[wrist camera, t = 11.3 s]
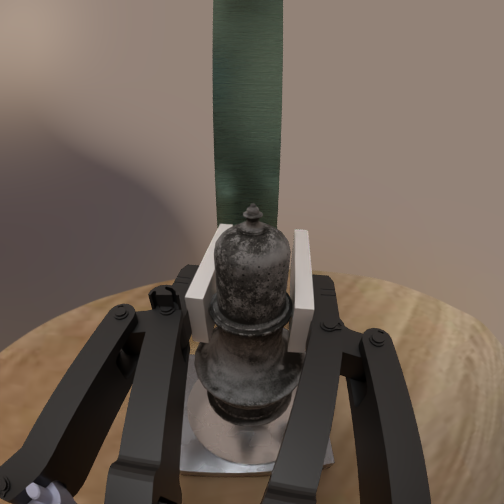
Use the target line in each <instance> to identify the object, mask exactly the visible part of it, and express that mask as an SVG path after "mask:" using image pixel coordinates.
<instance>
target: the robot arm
mask: <svg viewBox="0 0 504 504" xmlns="http://www.w3.org/2000/svg"><path fill="white" fill-rule="evenodd" d="M232 226H233V225H231V224H220V225H219V227H218V229H217V231H216V233H215V235H214V237H213V239H212V241H211V243H210V245H209V247H208V249H207V252H206V253H205V256H204V258H203V260H202V262H201V264H200V266H198V265H186V266H185V267H184V268H183V269H181V271H180V272H179V274H178V276H177V278H176V279H175V281H174V283H173V285H160V286H158V287H155V288H154V289H152V290H151V291H150V293H149V294H148V295H149V299H150V303H151V306H152V310H148V311H139V312H135V309H134V308H133V306H131V305H129V304H120V305H117V306H115V307H113V308H112V309H111V310H110V311H109V312H108V314H107V315H106V316H105V318H104V319H103V320H102V322H101V323H100V324H99V326H98V327H97V329H96V330H95V331H94V333H93V334H92V336H91V337H90V338H89V340H88V341H87V343H86V344H85V345H84V347H83V348H82V350H81V351H80V353H79V354H78V356H77V357H76V359H75V360H74V361H73V363H72V364H71V366H70V367H69V369H68V370H67V372H66V374H65V375H64V377H63V378H62V380H61V381H60V383H59V384H58V386H57V388H56V389H55V391H54V392H53V394H52V396H51V397H50V399H49V400H48V402H47V404H46V405H45V407H44V409H43V410H42V412H41V414H40V416H39V417H38V419H37V421H36V422H35V424H34V426H33V428H32V430H31V431H30V433H29V435H28V437H27V439H26V441H25V442H24V444H23V446H22V448H21V449H20V450H18V451H17V452H16V453H15V454H14V455H13V456H12V457H11V458H9V459H8V460H7V461H6V462H5V463H4V464H3V465H2V466H0V498H1V499H3V500H5V501H7V502H9V503H12V504H77V503H76V502H75V501H74V499H73V497H74V496H75V495H76V494H77V493H78V491H79V490H80V488H81V487H82V486H83V484H84V482H85V480H86V478H87V476H88V474H89V472H90V470H91V468H92V465H93V463H94V461H95V459H96V457H97V455H98V452H99V450H100V448H101V446H102V444H103V442H104V440H105V438H106V436H107V434H108V432H109V429H110V427H111V425H112V423H113V421H114V419H115V417H116V415H117V413H118V411H119V409H120V407H121V405H122V403H123V401H124V399H125V397H126V395H127V393H128V392H129V390H130V388H131V386H132V389H131V394H130V398H129V403H128V408H127V413H126V418H125V423H124V428H123V434H122V439H121V445H120V451H119V457H118V459H117V461H115V462H114V463H112V464H111V466H110V468H109V472H108V477H107V485H106V493H105V502H104V504H182V493H181V487H180V482H179V474H180V455H181V439H182V426H183V413H184V402H185V391H186V381H187V371H188V362H189V353H190V344H189V339H190V337H191V334H192V338H193V341H197V342H204V343H209V341H210V338H211V335H212V331H213V328H214V325H215V322H214V321H213V320H212V318H211V315H210V312H209V305H210V301H211V299H212V297H213V295H214V294H215V293H216V292H217V291H216V278H215V265H214V248H215V243H216V241H217V239H218V238H219V236H220V235H221V234H222V233H223V232H224V231H225V230H227V229H228V228H230V227H232ZM290 298H291V299H292V303H293V311H292V316H291V318H290V320H289V334H288V352H299V353H304V352H305V348H306V355H305V359H304V363H303V366H302V371H301V375H300V379H299V383H298V387H297V390H296V394H295V398H294V402H293V405H292V409H291V412H290V416H289V419H288V423H287V426H286V430H285V433H284V436H283V440H282V443H281V446H280V449H279V452H278V455H277V458H276V461H275V464H274V467H273V470H272V473H271V476H270V479H269V482H268V485H267V487H266V490H265V493H264V496H263V498H262V501H261V503H260V504H316V491H317V487H318V484H319V480H320V476H321V472H322V468H323V464H324V459H325V455H326V450H327V446H328V441H329V436H330V431H331V426H332V420H333V415H334V409H335V403H336V397H337V390H338V383H339V376H340V375H342V376H345V377H346V381H347V388H348V394H349V401H350V407H351V415H352V422H353V430H354V438H355V447H356V456H357V466H358V478H359V491H360V504H431V499H430V491H429V484H428V478H427V472H426V466H425V460H424V455H423V450H422V445H421V441H420V436H419V432H418V427H417V423H416V419H415V415H414V411H413V407H412V404H411V400H410V396H409V393H408V389H407V386H406V382H405V379H404V376H403V372H402V369H401V366H400V363H399V360H398V357H397V354H396V351H395V348H394V345H393V342H392V339H391V337H390V336H389V334H388V333H386V332H385V331H384V330H381V329H378V328H371V329H368V330H366V331H365V332H364V334H362V333H359V332H355V331H352V330H350V329H348V328H347V327H345V326H344V323H343V322H342V320H341V319H340V318H339V311H338V305H337V299H336V293H335V287H334V282H333V281H332V279H331V278H330V277H329V276H325V275H312V269H311V258H310V247H309V237H308V230H300V229H299V230H298V229H295V232H294V242H293V251H292V260H291V275H290ZM132 384H133V385H132Z"/></svg>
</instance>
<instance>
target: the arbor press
mask: <svg viewBox="0 0 504 504" xmlns="http://www.w3.org/2000/svg"><path fill="white" fill-rule="evenodd" d="M282 67H283V0H214V2H213V128H214V161H215V185H216V206H217V225H218V227H219V225H220V224H231V225H233V226H235V225H237V224H240V223H243V222H245V221H247V219H246V218H245V217H244V216H243V213H244V212H245V211H247V208H248V207H250V205H251V204H252V203H254V204H256V207H258V208H259V211H260V212H262V213H263V216H262V217H261V218H259V221H260V222H262V223H265V224H268V225H271V226H273V227H275V228H276V229H277V214H278V195H279V170H280V147H281V116H282V115H281V114H282V71H283V70H282V69H283V68H282ZM304 353H305V355H306V351H305V352H304ZM194 361H195V355H190V354H189V362H188V371H187V381H186V391H185V402H184V413H183V426H182V439H181V455H180V474H181V475H193V476H213V477H248V476H268V475H271V473H272V470H273V467H274V464H275V461H276V458H277V455H278V452H279V449H280V446H281V443H282V440H283V436H284V433H285V430H286V426H287V423H288V419H289V416H290V412H291V409H292V405H293V402H294V398H295V394H296V390H297V387H298V386H297V387H296V388H295V389H294V390H293V391H292V398H291V402H290V404H289V406H288V408H287V410H286V411H285V412H284V413H283V414H282V415H281V416H280V417H279V418H277V419H276V420H274V421H272V422H271V423H269V424H265V425H262V426H258V427H243V426H238V425H234V424H232V423H229V422H227V421H225V420H223V419H222V418H221V417H220V416H219V415H217V414H216V413H215V411H214V410H213V408H212V407H211V405H210V403H209V400H208V396H207V390H206V389H205V388H204V386H203V385H202V383H201V382H200V380H199V378H198V377H197V373H196V369H195V365H194ZM334 463H335V462H334V457H333V452H332V447H331V442H330V437H329V441H328V446H327V450H326V455H325V459H324V464H323V468H322V469H324V468H329V467H330V466H331V465H333V464H334Z"/></svg>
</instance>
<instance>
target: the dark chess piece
mask: <svg viewBox="0 0 504 504" xmlns="http://www.w3.org/2000/svg"><path fill="white" fill-rule="evenodd" d="M243 216H244V217H245V218H246V219H247V221H245V222H243V223H240V224H237V225H235V226H232V227H230V228H228V229H227V230H225V231H224V232H223V233H222V234H221V235H220V236H219V238H218V239H217V241H216V243H215V248H214V265H215V278H216V291H217V292H216V293H215V294H214V295H213V297H212V299H211V301H210V305H209V312H210V315H211V318H212V320H213V321H214V322H215V324H216V325H217V327H216V328H214V329H213V331H212V335H211V338H210V341H209V343H204V342H200V343H199V345H198V348H197V350H196V352H195V361H194V365H195V369H196V373H197V377H198V378H199V380H200V382H201V383H202V385H203V386H204V388H205V389H206V390H207V396H208V400H209V403H210V405H211V407H212V408H213V410H214V411H215V413H216V414H217V415H219V416H220V417H221V418H222V419H223V420H225V421H227V422H229V423H232V424H234V425H238V426H243V427H258V426H262V425H265V424H269V423H271V422H272V421H274V420H276V419H277V418H279V417H280V416H281V415H282V414H283V413H284V412H285V411H286V410H287V408H288V406H289V404H290V402H291V398H292V391H293V390H294V389H295V388H296V387H297V386H298V383H299V379H300V375H301V371H302V366H303V363H304V359H305V353H299V352H288V334H289V331H288V330H287V329H285V328H283V327H284V326H285V325H286V324H287V323H288V321H289V320H290V318H291V316H292V311H293V303H292V299H291V298H290V296H289V295H288V293H287V292H286V289H287V280H288V271H289V262H290V247H289V242H288V240H287V239H286V237H285V236H284V235H283V233H282V232H281V231H279V230H278V229H276V228H275V227H273V226H271V225H268V224H265V223H262V222H260V221H259V218H261V217H262V216H263V213H262V212H260V211H259V208H258V207H256V204H254V203H252V204H251V205H250V207H248V208H247V211H245V212H244V213H243Z"/></svg>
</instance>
